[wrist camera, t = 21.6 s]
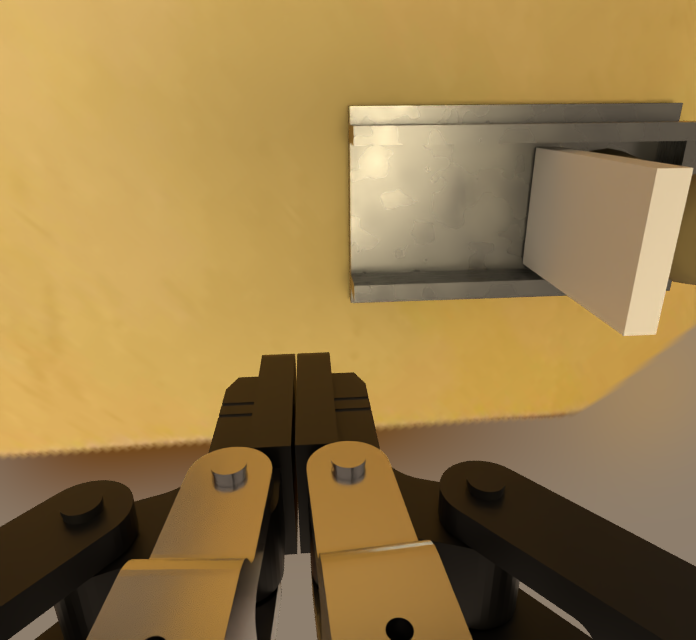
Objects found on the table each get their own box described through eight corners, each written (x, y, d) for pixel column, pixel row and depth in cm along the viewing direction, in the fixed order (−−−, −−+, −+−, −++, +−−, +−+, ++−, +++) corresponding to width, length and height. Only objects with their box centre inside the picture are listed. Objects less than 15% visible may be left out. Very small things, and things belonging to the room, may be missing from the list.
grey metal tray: (348, 106, 31) (353, 106, 28) (672, 102, 33) (712, 102, 29) (349, 297, 36) (354, 316, 33) (634, 288, 37) (666, 305, 34)
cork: (659, 209, 34) (810, 253, 24) (575, 262, 35) (687, 326, 25) (622, 127, 32) (772, 137, 22) (535, 186, 33) (638, 222, 23)
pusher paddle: (536, 147, 32) (657, 168, 21) (560, 147, 32) (693, 167, 21) (522, 263, 34) (623, 335, 24) (545, 262, 35) (655, 334, 24)
